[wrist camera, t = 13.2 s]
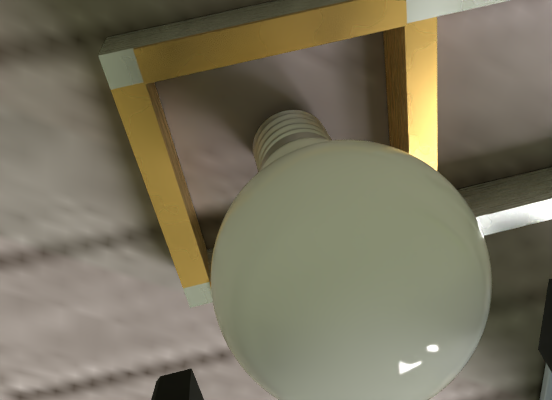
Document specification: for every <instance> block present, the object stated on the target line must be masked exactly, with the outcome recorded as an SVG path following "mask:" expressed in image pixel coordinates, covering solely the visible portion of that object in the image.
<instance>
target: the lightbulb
mask: <svg viewBox="0 0 552 400" xmlns="http://www.w3.org/2000/svg"><path fill="white" fill-rule="evenodd" d="M253 155H254V158H255V162H256V165H257V169H258V172H259V173H257V174H256V175H255V176H254V177H253V178H252V179H251V180H250V181H249V182H248V183H247V184H246V185H245V186H244V188H243V189H242V190H241V191H240V193H239V194H238V195H237V197H236V198H235V200H234V201H233V203H232V204H231V206H230V207H229V209H228V211H227V213H226V215H225V217H224V219H223V221H222V223H221V226H220V229H219V231H218V234H217V238H216V241H215V245H214V250H213V255H212V263H211V293H212V301H213V306H214V311H215V314H216V318H217V321H218V324H219V327H220V330H221V332H222V335H223V337H224V339H225V341H226V343H227V345H228V347H229V349H230V350H231V352H232V354H233V355H234V357H235V358H236V360H237V361H238V363H239V364H240V365H241V366H242V368H243V369H244V370H245V371H246V372H247V374H248V375H249V376H250V377H251V378H252V379H253V380H254V381H255V382H256V383H257V384H258V385H259V386H261V387H262V388H263V389H264V390H265V391H267V392H268V393H269V394H271V395H272V396H274V397H275V398H277V399H278V400H429V399H431V398H432V397H434V396H435V395H437V394H438V393H439V392H440V391H442V390H443V389H444V388H445V387H446V386H447V385H449V384H450V383H451V382H452V381H453V380H454V379H455V378H456V376H457V375H458V374H459V373H460V372H461V371H462V369H463V368H464V367H465V365H466V364H467V363H468V361H469V360H470V358H471V357H472V355H473V353H474V351H475V350H476V348H477V346H478V344H479V342H480V339H481V337H482V334H483V332H484V329H485V326H486V323H487V319H488V315H489V310H490V305H491V297H492V270H491V262H490V257H489V252H488V248H487V244H486V241H485V238H484V235H483V232H482V230H481V227H480V225H479V223H478V221H477V219H476V217H475V215H474V213H473V212H472V210H471V208H470V207H469V205H468V204H467V202H466V201H465V199H464V198H463V197H462V195H461V194H460V193H459V192H458V191H457V189H456V188H455V187H454V186H453V185H452V184H451V183H450V182H449V181H448V180H447V179H446V178H445V177H444V176H443V175H442V174H440V173H439V172H438V171H437V170H435V169H434V168H433V167H431V166H430V165H429V164H427V163H425V162H424V161H422V160H421V159H419V158H417V157H415V156H413V155H411V154H409V153H407V152H405V151H403V150H400V149H398V148H395V147H392V146H389V145H385V144H381V143H377V142H371V141H365V140H332V139H331V138H330V136H329V134H328V133H327V131H326V129H325V128H324V126H323V125H322V123H321V122H320V121H319V120H318V119H317V118H316V117H315V116H313V115H312V114H310V113H307V112H305V111H301V110H286V111H282V112H279V113H276V114H274V115H273V116H271V117H269V118H268V119H267V120H266V121H265V122H264V123H263V124H262V125H261V126H260V127H259V129H258V130H257V132H256V135H255V137H254V141H253Z"/></svg>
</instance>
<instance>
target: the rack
mask: <svg viewBox="0 0 552 400" xmlns="http://www.w3.org/2000/svg"><path fill="white" fill-rule="evenodd" d="M505 1H509V0H276V1H271V2H267V3H262V4H258V5H253V6H249V7H244V8H239V9H235V10H230V11H226V12H221V13H217V14H212V15H208V16H203V17H198V18H194V19H189V20H185V21H180V22H176V23H171V24H166V25H162V26H157V27H153V28H148V29H144V30H139V31H135V32H130V33H125V34H121V35H116V36H112V37H107V38H106V40H105V42H104V44H103V46H102V49H101V51H100V53H99V55H98V57H99V59H100V62H101V65H102V68H103V70H104V73H105V76H106V79H107V81H108V84H109V87H110V90H111V92H112V95H113V98H114V101H115V103H116V106H117V109H118V111H119V114H120V117H121V120H122V122H123V125H124V128H125V131H126V133H127V136H128V139H129V142H130V144H131V147H132V150H133V153H134V155H135V158H136V161H137V163H138V166H139V169H140V172H141V174H142V177H143V180H144V183H145V185H146V188H147V191H148V194H149V196H150V199H151V202H152V205H153V207H154V210H155V213H156V216H157V218H158V221H159V224H160V226H161V229H162V232H163V235H164V237H165V240H166V243H167V246H168V248H169V251H170V254H171V257H172V259H173V262H174V265H175V268H176V270H177V273H178V276H179V278H180V281H181V284H182V287H183V289H184V292H185V295H186V298H187V300H188V303H189V306H190V308H191V307H195V306H199V305H203V304H207V303H211V302H213V301H212V293H211V263H212V255H213V250H214V248H212V249H208V250H207V248H206V245H205V242H204V239H203V235H202V232H201V229H200V226H199V223H198V219H197V216H196V213H195V210H194V207H193V204H192V200H191V197H190V194H189V191H188V188H187V184H186V181H185V178H184V175H183V172H182V169H181V165H180V162H179V159H178V156H177V153H176V149H175V146H174V143H173V140H172V137H171V133H170V130H169V127H168V124H167V121H166V118H165V114H164V111H163V108H162V105H161V102H160V98H159V95H158V92H157V89H156V86H155V83H154V82H157V81H162V80H166V79H170V78H175V77H179V76H184V75H188V74H193V73H197V72H202V71H206V70H211V69H215V68H220V67H224V66H228V65H233V64H237V63H242V62H246V61H251V60H255V59H260V58H264V57H269V56H273V55H278V54H282V53H286V52H291V51H295V50H300V49H304V48H309V47H313V46H318V45H322V44H327V43H331V42H336V41H340V40H344V39H349V38H353V37H358V36H362V35H367V34H371V33H376V32H380V31H383V37H384V54H385V71H386V88H387V105H388V122H389V139H390V146H392V147H395V148H398V149H400V150H403V151H405V152H407V153H409V154H411V155H413V156H415V157H417V158H419V159H421V160H422V161H424V162H425V163H427V164H429V165H430V166H431V167H433V168H434V169H435V170H437V17H438V16H442V15H447V14H451V13H455V12H460V11H464V10H469V9H473V8H478V7H482V6H487V5H491V4H496V3H500V2H505ZM457 191H458V192H459V193H460V194H461V195H462V197H463V198H464V199H465V201H466V202H467V204H468V205H469V207H470V208H471V210H472V212H473V213H474V215H475V217H476V219H477V221H478V223H479V225H480V227H481V230H482V232H483V235H484V236H485V235H489V234H493V233H497V232H501V231H505V230H510V229H514V228H518V227H522V226H526V225H530V224H534V223H538V222H542V221H546V220H550V219H552V167H549V168H545V169H541V170H537V171H533V172H528V173H524V174H520V175H516V176H512V177H508V178H503V179H499V180H495V181H491V182H487V183H483V184H478V185H474V186H470V187H466V188H462V189H458V190H457Z"/></svg>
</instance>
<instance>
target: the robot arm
mask: <svg viewBox="0 0 552 400" xmlns="http://www.w3.org/2000/svg"><path fill="white" fill-rule="evenodd" d="M538 350H539V351H540V353H541V355H542V357H543V358H544V360H545V362H546V366H545V372H544V378H543V384H542V390H541V396H540V400H552V279H549V282H548V289H547V295H546V302H545V308H544V315H543V321H542V328H541V334H540V341H539V347H538ZM151 400H204V399H203V396H202V394H201V391H200V389H199V386H198V383H197V381H196V378H195V376H194V373H193V371H192V369H188V370H184V371H180V372H176V373H172V374H168V375H164V376H160V378H159V379H158V380H157V381H156V385H155V389H154V392H153V396H152V399H151Z"/></svg>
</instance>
